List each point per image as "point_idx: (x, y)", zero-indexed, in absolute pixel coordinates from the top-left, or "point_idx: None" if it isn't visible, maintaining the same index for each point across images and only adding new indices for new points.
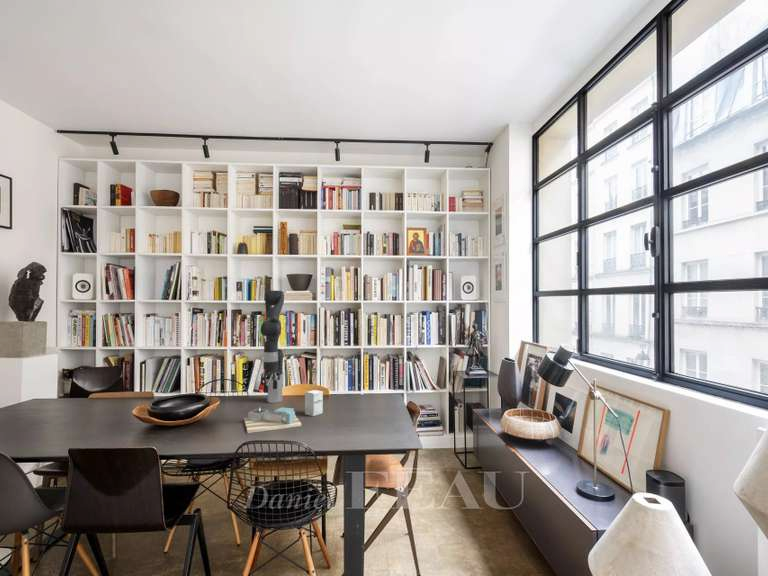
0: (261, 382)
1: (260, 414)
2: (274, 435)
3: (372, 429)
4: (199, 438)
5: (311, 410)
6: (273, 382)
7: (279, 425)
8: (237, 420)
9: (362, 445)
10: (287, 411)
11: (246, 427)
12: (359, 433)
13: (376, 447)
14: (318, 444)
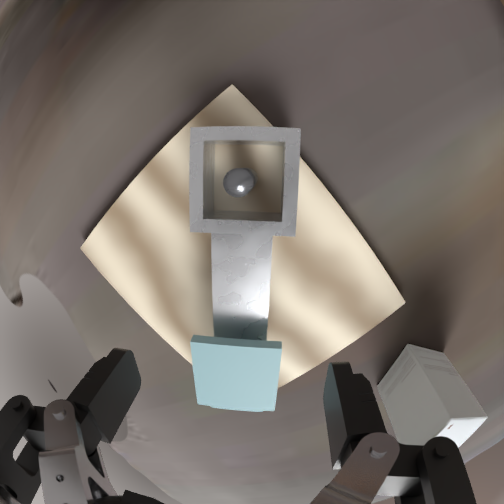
0: (3, 421)
1: (191, 231)
2: None
3: (271, 499)
4: (15, 119)
5: (389, 394)
6: (343, 438)
7: (185, 345)
8: (226, 52)
9: (176, 492)
10: (210, 405)
11: (116, 202)
12: (236, 492)
13: (179, 501)
14: (135, 451)
